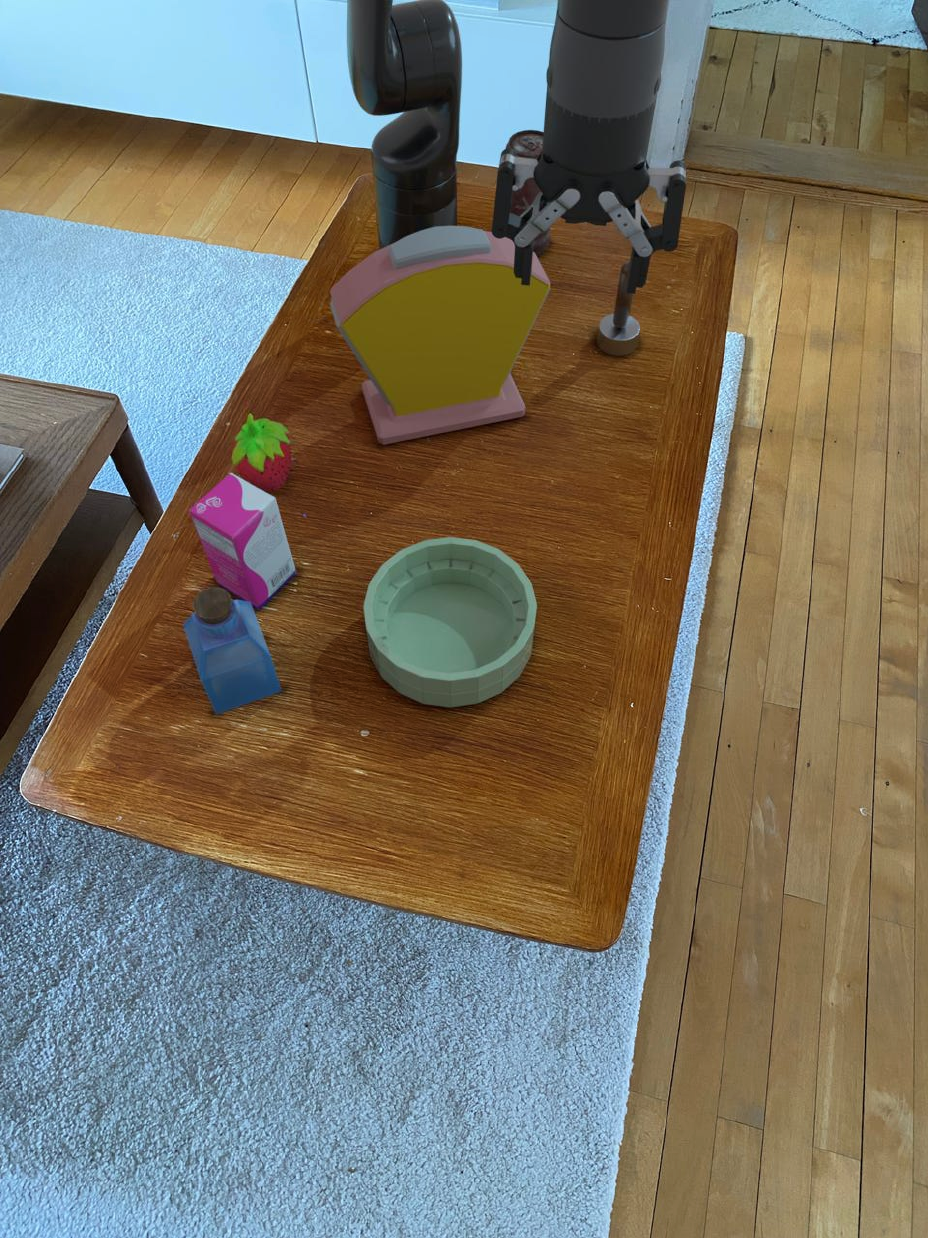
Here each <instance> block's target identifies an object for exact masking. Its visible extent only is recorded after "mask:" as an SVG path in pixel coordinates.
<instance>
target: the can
mask: <svg viewBox="0 0 928 1238" xmlns="http://www.w3.org/2000/svg"><path fill="white" fill-rule="evenodd" d="M543 132H544V131H541V130H538V129H537V130H536V129H524V130H521V131H520V130H519V131H517V132H515V133H513V134H512V135H511V136H510V137H509V139H508V141H507V143H506V145H505V148H504V149H507V148H510V149H513V150H514V151H515V152H516V154H517V157H522V158H529V159H537V158H538V156H539V155H540V153H541V151H542V146H543ZM540 192H541V191H540V189H539V188H538V186H537V185H536V183H535V181H534V178H529V179H527V180H526V181H525V182H524V185H523V187H522V188H521V189H519V190H517V191H513V193H512V202H511V210H510V213H512V214H515V215H517V216H519V217H520V216H521V215H522V214H523V213H524V212H525V211H526V209H527V208H528V207H529V206H530V205H531V204H532V203H533V201H534V199H535V198H536V196H537V195H538V194H539V193H540ZM550 236H551V227H549V228H548V229H547V230H546V231H545V232H541V233H540V234H539V235H538V236H537V237H536V238H535V239H534V245H533V252H534V253H535V254H536V256H537V257H539V256H541V255H542V254H543V253H545V251H546V250H547V248H548V247H549V244H550Z"/></svg>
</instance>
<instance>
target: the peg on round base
mask: <svg viewBox="0 0 928 1238" xmlns="http://www.w3.org/2000/svg"><path fill="white" fill-rule="evenodd" d="M629 264H630V261H627V262H625V263H623V264H622V266H621V268H620V273H619V277H618V286H617V290H616V291H617V292H616V297H615V304H614V309H613V313H609V314H607V315H605V316H604V317H602V318H601V319H600V321H599V324H598V329H597V337H596V344H597V346H598V348H599V350H601V351H602V352H603V353H605V354H606V355H610V356H614V357H623V356H627V355H630V354H632V353H633V352H634V351H635V350H636V349H637V347H638V343H639V337H640V332H641V326H640V323H639V321H638V320H637V319H636V318H634V317H633V316H631V310H632V309H631V308H632V303H633V298H634V294H629V293H626V289H627V276H628V270H629Z"/></svg>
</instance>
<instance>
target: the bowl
mask: <svg viewBox="0 0 928 1238" xmlns="http://www.w3.org/2000/svg"><path fill="white" fill-rule="evenodd" d="M364 597H365V598H364V601H363V605H362V606H363V607H362V609H363V615H364V623H365V631H366V637H367V644H368V651H369V656H370V659H371V661H372V662H373V665H374V667H375V669H376V670H377V672H378V673H379V675H380V677H381V678H382V679H383V680H384V681H385V682H386V683H387V684H389V686H391V688H393V689H394V690H395V691H396V692H397V693H399V694H401V695H402V696H405V697H407V698H410V699H412V700H414V701H416V702H418V703H420V704H423V705H427V706H435V707H436V706H437V707H443V708H457V707H463V706H470V705H477V704H480V703H483V702H484V701H487V700H489V699H491V698H493V697H496V696H498V695H500V694H502V693H503V692H504V691H505V690H506V689H507V688H509V687H510V686H511V685H512V684H513V683H514V682H515V681H517V680H518V678H519V677H521V675H522V673H523V671H524V670H525V667H526V666H527V664H528V662H529V660H530V658H531V657H532V651H533V645H534V644H533V643H534V635H535V627H536V620H537V619H536V617H537V610H538V603H537V599H536V595H535V591H534V588H533V584H532V582H531V581H530V579H529V578H528V576H527V575H526V573H525V572H524V570H523V569H522V567H521V566H520V564H519V563H518V562H516V561H515V560H514V559H513V558H511V557H510V556H509V555H508V554H506V553H505V552H503V551H502V550H501V549H499V548H497V547H494V546H492V545H490V544H487V543H484V542H481V541H479V540H477V539H471V538H470V539H469V538H460V537H453V536H448V537H447V536H446V537H439V538H432V539H424V540H422V541H419V542H417V543H415V544H412V545H410V546H407V547H405V548H403V549H401V550H399V551H397V552H396V553H395V554H394V555H393V556H392V557H389V558H388V559H387V560H386V561H385V562H384V563H382V564H381V565H380V566H379V569H378V570H377V571H376V572H375V574H374V575H373V577H372V578H371V580H370V581H369V583H368V586H367V589H366V593H365V596H364Z"/></svg>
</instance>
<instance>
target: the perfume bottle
mask: <svg viewBox="0 0 928 1238" xmlns="http://www.w3.org/2000/svg"><path fill="white" fill-rule="evenodd" d="M192 608H193V611H194V613H192V614H191V615H190V616H189V617H187V619H186V620H185V622H184V623H183V624H182V627H183V629H184V632H185V636H186V638H187V639H186V640H187V642H188V645H189V648H190V651H191V654H192V657H193V660H194V663H195V666H196V669H197V673H198V676H199V679H200V682H201V684H202V686H203V689H204V691H205V693H206V695H207V697H208V699H209V700H208V701H209V702H210V704H211V706H212V709H213V711H214V713H215V715H216V716H217V715H220V714H222V713H225V712H228V711H230V710H233V709H237V708H239V707H242V706H245V705H247V704H250V703H253V702H256V701H258V700H261V699H264V698H266V697H270V696H272V695H275V694H278V693H281V692H282V688H281V684H280V681H279V678H278V675H277V671H276V668H275V664H274V662H273V659H272V655H271V653H270V649H269V648H268V645H267V641H266V639H265V637H264V634H263V632H262V631H263V630H262V629H261V626H260V623H259V621H258V617H257V616H256V613H255V610H254V607H253V606H252V605H251V602H247V601H243V600H242V599H234V600H233V599H232V596H231V594H230V592H229V591H228V590H227V589H225V588H223V587H222V588H221V587H216V586H212V587H207V588H205V589H203V590H201V591H199V592H198V593H197V594H196V596H195V597H194V599H193V602H192Z"/></svg>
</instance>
